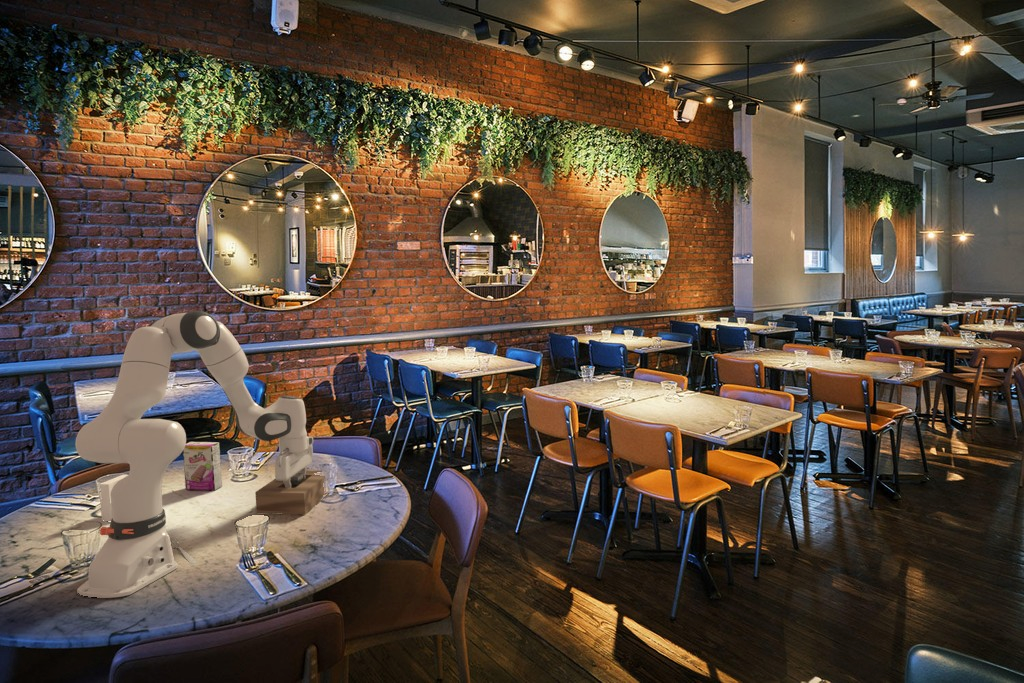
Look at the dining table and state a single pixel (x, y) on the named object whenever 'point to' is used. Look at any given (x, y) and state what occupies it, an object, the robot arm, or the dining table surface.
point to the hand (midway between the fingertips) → (295, 485)
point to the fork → (184, 552)
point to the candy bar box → (202, 466)
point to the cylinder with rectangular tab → (108, 497)
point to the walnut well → (290, 495)
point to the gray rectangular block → (297, 479)
